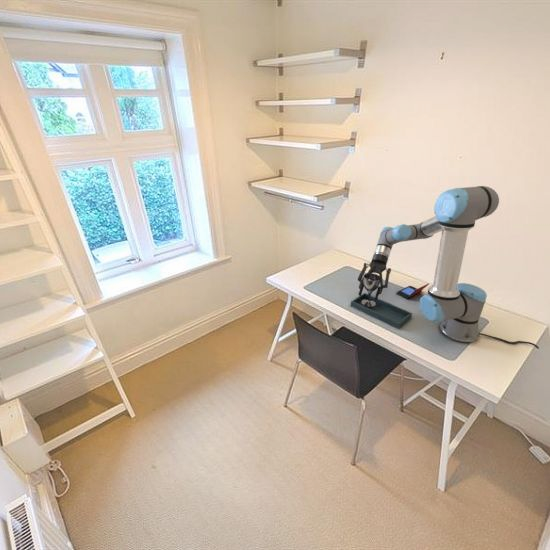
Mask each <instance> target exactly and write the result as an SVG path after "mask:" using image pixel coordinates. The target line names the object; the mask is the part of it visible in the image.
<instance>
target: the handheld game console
mask: <svg viewBox="0 0 550 550" xmlns="http://www.w3.org/2000/svg"><path fill="white" fill-rule="evenodd" d="M429 285H430V283H426V284H425V285H423V286H421V287H419V288H417V287H415V286H412V285H408V286H406V287H404V288H402V289H400V290H398V291H396V294H397V295H399V296H401V297H402V298H405V299H407V300H409V299H411V298H413V297H414V296H417V295H418V294H421V293H422V291H423V290H424V289H425V288H427V286H428V287H429Z"/></svg>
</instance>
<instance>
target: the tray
mask: <svg viewBox="0 0 550 550" xmlns="http://www.w3.org/2000/svg"><path fill="white" fill-rule="evenodd" d="M364 299H368V293H365V292H364V293H362V294H361V296H359V295H358V296H357V297H356V298H354V299H352V300H351V301H350V307H352V308H354V309H356V310H358V311H360V312H363V313H365V314H366V315H369V316H370V317H373V318H375V319H377V320H379V321H381V322H383V323H385V324H388V325H390V326H391V327H394V328H396V329H400V328H401V327H403V326H404V325H405V324H406V323H407V322H409V320H411V319H412V316H413V313H412V312H410V311H408V310H406V309H403V308H401V307H398V306H396V305H394V304H392V303H389V302H387V301H385V300H382V299H380V298H379V297H378V298H377V300H375V296H373V295H371V296H370V300H373V301H375V303H376V305H375V306H372V307H368V306H364V305H363V304H362V303H361V301H362V300H364Z"/></svg>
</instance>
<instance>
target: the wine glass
mask: <svg viewBox="0 0 550 550" xmlns="http://www.w3.org/2000/svg"><path fill="white" fill-rule="evenodd" d="M367 273H368V272H367ZM367 273H364V275H363V277H364V278H363V277H362V278H363V284H364V288H363V289H364V290H366V292H367V294H368V299H364V300H362V301H361V303H362V304H363V305H364V306H368V307H372V306H375V305H376V303H375V301H373V300H370V296H372V293H373V292H375V291H377V290H378V287H380V276H379V274H377V273H368V274H367Z"/></svg>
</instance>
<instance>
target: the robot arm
mask: <svg viewBox="0 0 550 550" xmlns="http://www.w3.org/2000/svg"><path fill="white" fill-rule="evenodd" d="M499 204H500V197H499V194H498V192H496V190H495V189H493V188H492V187H490V186H486V185H479V186H469V187H467V186H466V187H455V188H452V189H451V188H450V189H447V190H445V191H443V192H442V193H441V194H440V195H438V197H437V199H436V201H435V203H434V208H433V214H434V216H432V217H430V218H428V219H426V220H424V221H422V222H419V223H415V224H406V223H403V224H402V223H401V224H398V225H396V226H394V227H392V226H385V227H383V228H382V229H381V232H380V233H379V237H378V240H377V244H376V247H375V249H374V252H373V255H372V258H371V261H370V262H369V263H366V262H364V263H363V267H362V269H361V271H360V273H359V275H358V277H357V281H358V283H359V285H358V290H359V291H358V297H359V296H361V295H362V294H363V291H364V289H365V288H364V284H363V278H364V275H365V274H368V273H372V274H377V275H379V276H380V283H379V286H378V288H377V289H376V293H375V295H374V297H375V300H377V298H378V299H379V296H380V295H381V294H382V293H383V289H387V288H388V287H389V280H390V274H391V273H392V269H391V267H387V265H388V261H389V258H390V255H391V252H392V249H393V246H394V245H396V244H399V243H402V242H408V241H416V240H426V239H430V238H432V237H433V236H434V235H435V234H438V233H441V235H440V236H441V237H440V242H439V246H438V253H437V259H436V264H435V265H436V266H435V270H434V271H435V272H434V278H433V283H432V284H431V285H430V286H429V285H428V288H427V294H424V295H423V296H421V297H420V299H419V308H420V312H421V313H422V315H423V316H424V318H425V319H426V320H428V321H429V322H431V323H440V325H439V330H440V332H441V334H443V335H444V336H445V337H446V338H448V339H450V340H452V341H455V342H458V343H463V344H464V343H465V344H471V343H474V342H476V341H477V340H478V339H479V336H483V337H487V338H492V339H495V340H499V341H502V342H504V343H506V344H511V345H515V344H527V345H531V346H533V347H535V348H536V349H540V347H539V346H538V345H537V344H535V343H533V342H529V341H522V340H516V341H509V340H506V339H503V338H500V337H496V336H492V335H489V334H485V333H483V332H482V333H481V332H480V328H479V320H480V317H481V315H482V312H483V309H484V307H485V304H486V302H487V301H486V300H487V297H488V294H487V293H486V291H485V290H484V289H483V288H481V287H479V286H477V285H474V284H471V283H466V282H460V283H459V280H460V274H461V269H462V265H463V264H462V263H463V260H464V255H465V250H466V245H467V240H468V235H469V231H470V230H472V229H473V228H474V227H475V225H476V221H477V220H480V219H483V218H486V217H488V216H491V215H492V214H493V213H495V211H496V210H497V209H498V208H499ZM368 268H369V270H367V269H368ZM366 271H367V272H366ZM384 271H385V272H386V273H385V279H384V280H383V272H384Z"/></svg>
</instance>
